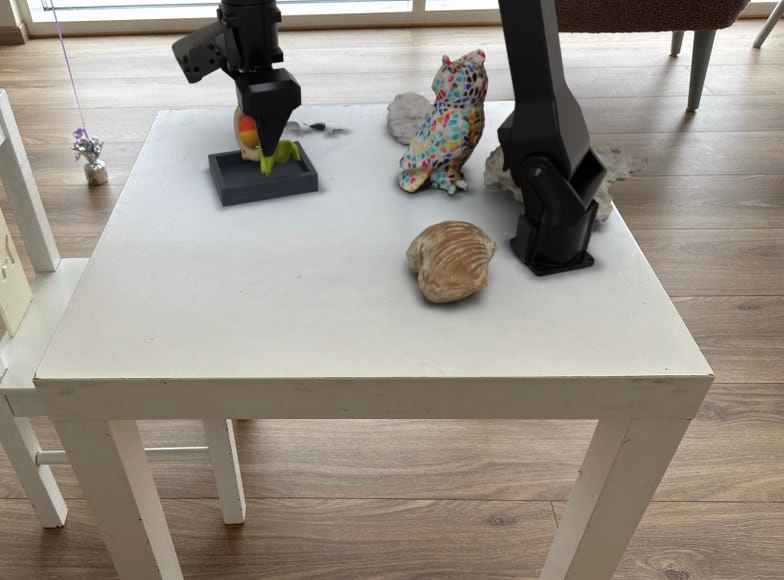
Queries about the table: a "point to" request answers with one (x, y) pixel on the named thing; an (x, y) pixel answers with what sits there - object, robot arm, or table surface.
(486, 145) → the table surface
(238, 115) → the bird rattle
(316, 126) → the toy
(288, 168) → the display tray
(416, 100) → the stone
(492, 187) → the fossil rock
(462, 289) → the seashell
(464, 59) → the figurine
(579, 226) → the robot arm
